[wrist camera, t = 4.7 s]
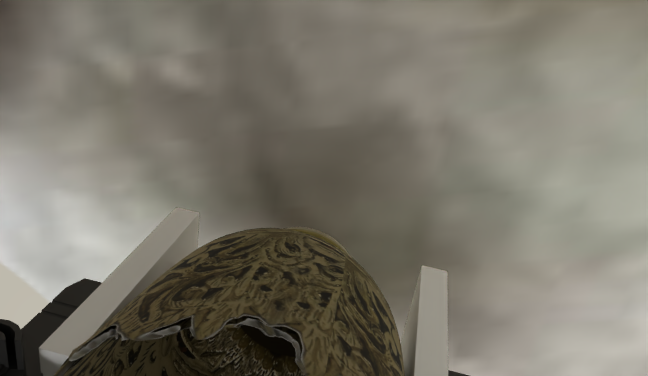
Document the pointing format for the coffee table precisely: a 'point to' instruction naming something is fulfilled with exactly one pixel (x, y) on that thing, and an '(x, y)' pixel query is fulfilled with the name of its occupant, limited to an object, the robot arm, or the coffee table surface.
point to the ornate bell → (251, 315)
